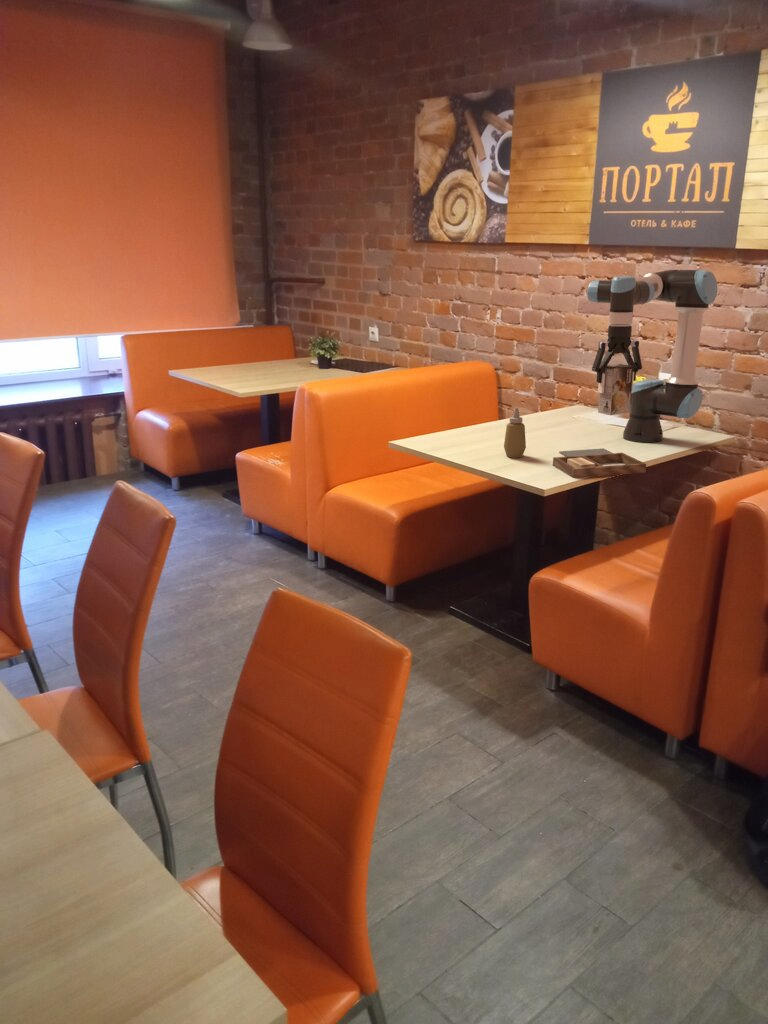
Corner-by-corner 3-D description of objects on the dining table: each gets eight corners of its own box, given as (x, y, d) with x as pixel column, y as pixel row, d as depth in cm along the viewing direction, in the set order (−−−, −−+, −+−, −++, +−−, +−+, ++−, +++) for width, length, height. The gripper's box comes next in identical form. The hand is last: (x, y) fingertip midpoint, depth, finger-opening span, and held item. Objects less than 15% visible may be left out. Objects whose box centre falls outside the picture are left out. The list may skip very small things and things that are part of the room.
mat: (603, 449, 310) (603, 448, 310) (620, 458, 298) (620, 456, 298) (559, 452, 306) (559, 451, 306) (574, 461, 294) (574, 459, 294)
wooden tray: (621, 460, 295) (622, 452, 294) (645, 472, 279) (646, 464, 278) (552, 465, 289) (553, 457, 288) (573, 477, 274) (573, 469, 273)
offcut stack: (581, 467, 288) (582, 457, 287) (596, 474, 279) (597, 463, 278) (566, 468, 286) (567, 458, 285) (580, 475, 277) (581, 465, 276)
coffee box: (616, 409, 286) (620, 363, 281) (630, 412, 281) (634, 365, 276) (597, 412, 282) (600, 365, 277) (610, 415, 277) (614, 368, 272)
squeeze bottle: (501, 453, 305) (502, 406, 300) (522, 453, 306) (524, 405, 300) (506, 459, 298) (508, 410, 292) (528, 458, 298) (530, 409, 293)
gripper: (644, 322, 278) (639, 387, 285) (583, 325, 273) (579, 391, 280) (657, 324, 271) (651, 391, 279) (594, 327, 266) (590, 395, 273)
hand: (615, 391), depth 279 cm, fingers closed on coffee box, 10 cm apart
